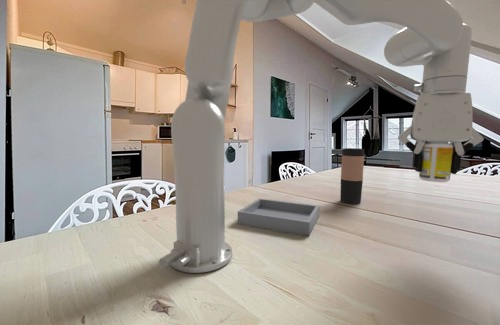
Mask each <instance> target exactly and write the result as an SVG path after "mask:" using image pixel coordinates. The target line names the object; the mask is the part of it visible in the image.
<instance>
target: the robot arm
mask: <svg viewBox="0 0 500 325" xmlns="http://www.w3.org/2000/svg"><path fill="white" fill-rule="evenodd" d="M314 3H315V4H316V5H318V6H319V7H320V8H322V9H323V10H325V11H326V12H328V14H330V15H331V16H333V17H334V18H336V19H337V20H338V21H339V22H341V23H343V24H344V25H346V26H357V25H364V24H365V25H366V24H371V23H379V22H380V23H391V24H396V25H399V26H402V27H404V28H403V29H401V30H400V31H398V32H396V33H395V34H393V35H392V36H391V37H390V38H389V39H388V40H387V42H386V43H385V46H384V47H383V48H384V49H383V56H384V58H385V60H386V61H387V62H388V64H390V65H392V66H396V67H399V68H401V67H402V68H403V67H405V68H406V67H411V66H412V67H413V66H423V71H422V72H423V73H422V82H421V83H420V84H419V83H418V84H414V86H413V87H414V88H413V92H418V93H420V95H418V96H417V99H416V101H415V105H414V109H413V114H412V119H411V125H409V127H408V128H406V129H405V130H404V131H403V132H402V133H401V134H400V135H398V137H397V139H398V141H400V142H401V143H402V144H403V145H404V146H405V147H407V148H408V149H409V150H410V152H411V153H413V155H412V164H411V165H412V168H414V171H416V172H417V173H420V171H421V170H422V159H423V155H422V154H421V150H422V148H423V146H424V144H425V143H427V141H442V142H448V143H449V144H452V145H453V155H452V165H451V174H452V175H457V172H458V171H459V170H460V168H461V163H462V162H461V160H462V156H463V155H465V153H467V152H468V151H470V150H471V149H472V148H473V147H475V146H477V145H478V144H481V143H482V142H483V141H484V137H483V136H482V135H481V133H479V132H478V131H477V130H476V129H475V128H474V127H473V125H474V123H473V119H474V117H473V102H472V101H473V99H472V94H471V92H466V90H467V83H468V82H467V81H468V72H469V64H470V63H469V62H470V56H471V55H470V54H471V47H472V46H471V45H472V35H473V30H472V27H471V25H469V24H466V23H464V20H463V18H462V16H461V14H460V13H459V11H458V10H457V8H455V6H453V5H452V3H451V2H449V1H448V0H196V3H195V8H194V13H193V18H192V23H191V27H190V28H191V29H190V34H189V39H188V40H189V41H188V46H187V51H186V55H185V59H184V66H183V67H184V74H185V77H186V79H187V88H186V93H185V100H184V101H182V102H181V103H180V104H178V106H177V107H176V109H175V111H174V113H173V115H172V118H171V125H170V128H171V129H170V132H171V142H172V143H171V144H172V152H173V164H174V168H173V169H174V187H175V189H174V190H175V191H174V192H175V215H176V216H175V220H176V221H175V222H176V223H175V224H176V225H175V226H176V227H175V228H176V230H175V231H176V241H174V242H173V248H172V249H171V251H170V252H169V253H167V254H166V255H164V256H162V257H160V258H159V260H158V263H159V267H160V268H162V269H164V270H165V269H168V268H169V267H172V268H173V269H175V270H177V271H180V272H183V273H190V274H201V273H202V274H203V273H208V272H213V271H215V270H218V269H220V268H222V267H224V266H227V264H228V263H230V261H231V260H232V257H233V248H232V247H231V245H230V244H229V243H227V242H226V240H225V239H226V237H225V233H226V229H225V228H226V224H225V220H226V219H225V218H226V216H225V215H226V214H225V211H226V210H225V209H226V208H225V199H226V198H225V196H226V195H225V138H226V137H225V136H226V133H225V132H226V126H225V120H226V113H227V109H228V108H227V107H228V103H229V99H230V98H229V96H230V92H231V87H232V83H233V82H232V81H233V78H234V77H233V76H234V61H235V54H236V46H237V42H238V41H237V40H238V35H239V31H240V27H241V23H242V22H241V21H243V22H247V23H258V22H264V21H269V20H276V19H280V18H281V19H282V18H287V17H291V16H295V15H299V14H301V13H304V12H306V11H307V10H309V9H310V8H312V6H313V5H314ZM409 136H410V138H411V139H412V140H414V141H415V143H413V142H412V141H411V140H410V139H408V137H409ZM462 142H465V143H463V144H462Z"/></svg>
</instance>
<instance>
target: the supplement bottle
mask: <svg viewBox="0 0 500 325" xmlns="http://www.w3.org/2000/svg"><path fill="white" fill-rule="evenodd" d="M421 154H422V155H423V159H422V170H421V171H420V172H418V175H419V176H418V177H419V179H421V180H422V181H425V182H426V181H427V182H435V183H447V182H450V180H451V174H452V173H451V165H452V155H453V145H452V144H450V142H442V141H426V142H425V144H424V146H423V148H422V150H421Z"/></svg>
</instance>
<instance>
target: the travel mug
mask: <svg viewBox="0 0 500 325" xmlns="http://www.w3.org/2000/svg"><path fill="white" fill-rule="evenodd" d="M364 161H365V149H364V148H350V147H349V148H348V147H347V148H346V147H345V148H342V153H341V167H340V169H341V170H340V195H339V196H340V197H339V198H340V202H341V203H344V204H347V205H348V204H349V205H359V204H361V202H362V194H363V192H362V191H363V184H364V182H363V181H364V164H365V162H364Z"/></svg>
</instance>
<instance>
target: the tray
mask: <svg viewBox="0 0 500 325" xmlns="http://www.w3.org/2000/svg"><path fill="white" fill-rule="evenodd" d="M320 207H321V206H320V205H316V204H308V203H301V202H293V201H282V200H275V199H269V198H267V199H266V198H257V199H256V200H254V201H253V202H251V203H250V204H248V205H245V206H244V207H243V208H241V209H240V210H238V211H237V224H238V225H243V226H251V227H254V228H260V229H266V230H272V231H278V232H284V233H288V234H295V235H301V236H307V237H310V235H311V234H312V231H313V230H314V228H315V226H316V224H317V222H318V220H319V218H320V209H321V208H320Z"/></svg>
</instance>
